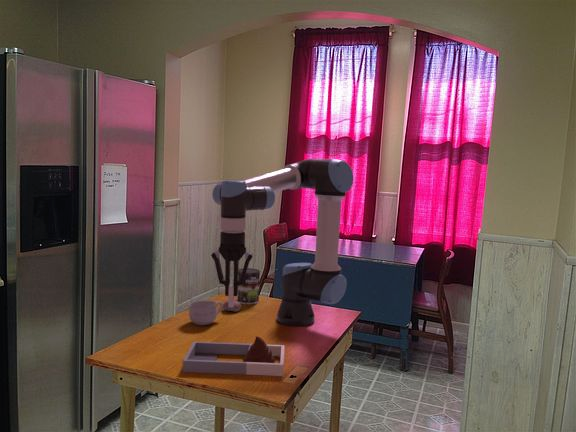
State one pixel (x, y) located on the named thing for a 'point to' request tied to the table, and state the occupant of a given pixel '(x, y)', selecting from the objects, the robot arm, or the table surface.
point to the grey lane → (214, 358)
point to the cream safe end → (268, 364)
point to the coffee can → (249, 287)
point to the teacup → (204, 311)
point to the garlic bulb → (234, 308)
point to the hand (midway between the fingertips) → (231, 305)
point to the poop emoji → (259, 352)
